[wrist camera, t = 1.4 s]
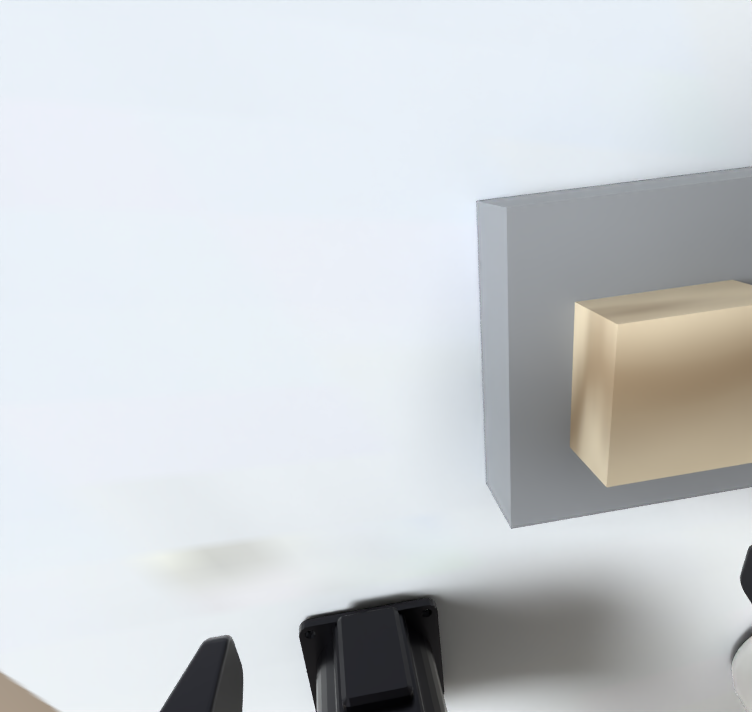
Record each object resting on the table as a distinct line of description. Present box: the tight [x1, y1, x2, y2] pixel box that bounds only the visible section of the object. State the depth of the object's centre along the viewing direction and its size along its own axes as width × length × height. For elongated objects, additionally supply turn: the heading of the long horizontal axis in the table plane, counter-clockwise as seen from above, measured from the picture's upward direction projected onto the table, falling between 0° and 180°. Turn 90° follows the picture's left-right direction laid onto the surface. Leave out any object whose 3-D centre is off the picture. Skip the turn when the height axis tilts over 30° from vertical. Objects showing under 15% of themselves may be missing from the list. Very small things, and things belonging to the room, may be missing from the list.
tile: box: [570, 280, 752, 487], centre depth 17 cm, size 6×6×2 cm
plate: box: [476, 167, 752, 529], centre depth 19 cm, size 12×14×3 cm
